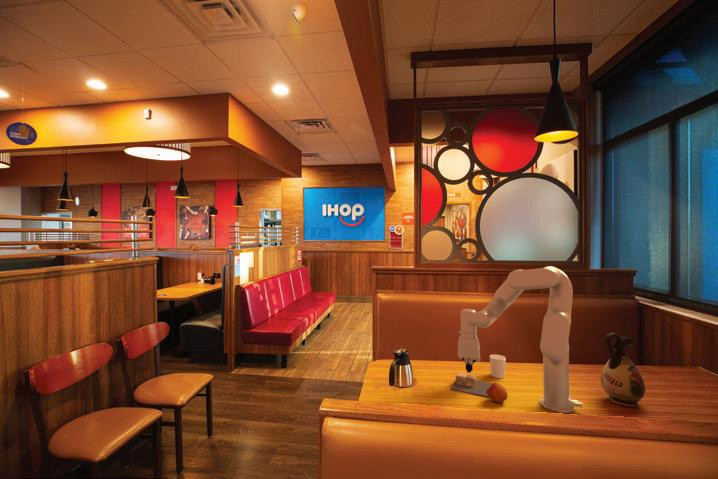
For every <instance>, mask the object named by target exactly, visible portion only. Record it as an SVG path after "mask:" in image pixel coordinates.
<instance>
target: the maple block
mask: <svg viewBox="0 0 718 479" xmlns="http://www.w3.org/2000/svg"><path fill="white" fill-rule="evenodd" d="M476 380H477V376H476V375H472V374H466V373H462V372H457V373H456V374H455V381H456V384H461V385H466V386H471V387H475V386H476Z"/></svg>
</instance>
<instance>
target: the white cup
mask: <svg viewBox="0 0 718 479" xmlns="http://www.w3.org/2000/svg"><path fill="white" fill-rule="evenodd" d="M506 358H507V357H506V356H504V355H500V354H490V355H489V366H490V367H489V369H490V376H492V377H493V378H496V379H504V378H505V377H506V374H505V373H506V362H507V361H506V360H507V359H506Z"/></svg>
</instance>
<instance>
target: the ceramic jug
mask: <svg viewBox="0 0 718 479" xmlns="http://www.w3.org/2000/svg"><path fill="white" fill-rule="evenodd" d="M612 339H615V341H614V343H613V344H612V343H611V340H612ZM604 342H605V343H604V344H605V346H606V349H607V351H608V354H609V359H608V361H607V362H606V364H605V365H604V366H603V368H602V371H601V372H600V373H601V374H600V375H601V376H600V384H601V387H602V390H604V392H605V393H606V394H607V396H608V397H609V398H610V401H611V402H612V403H615V404H618V405H621V406H625V407H634V408H637V407H638V403H639V402H640V401H641V400H642V399H643V398H644V397H645V393H646V385H645V381H644V378H643V376H642V374H641V372H640V371H639V369H638V368H637V367H636V365H635V363H634V362H633V361H632V360H631V359H630V358H629V356H628V355H627V353H626V350H625V349H626V348H628V347H629V346H632V345H635V341H634V340H633V339H632V338H630V337H628V336H626V337H624V336H623V335H621V336H620V335H619V334H617V333H615V332H609V333H607V334H605V337H604ZM613 348H614V349H615V351H614V349H613Z"/></svg>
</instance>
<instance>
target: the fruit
mask: <svg viewBox="0 0 718 479" xmlns="http://www.w3.org/2000/svg"><path fill="white" fill-rule="evenodd" d="M487 395H488V396H489V399H490V400H492V401H493V402H496V403H499V404H500V403H501V404H502V403H505V401H507V399H508V391H507V389H506V388H505V387H504V386H503V385H502V384H501V383H499V382H498V383H497V382H493V384H492V385H491V386H490V388H488V389H487Z"/></svg>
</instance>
